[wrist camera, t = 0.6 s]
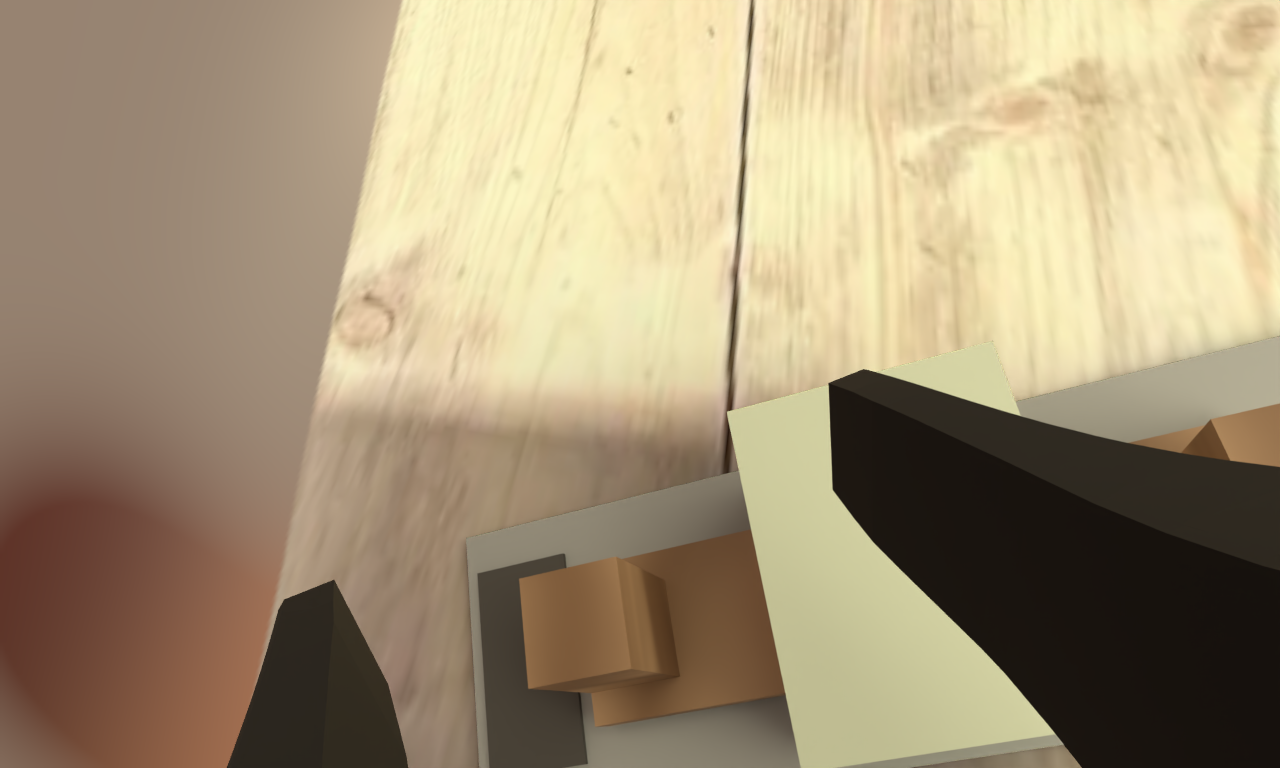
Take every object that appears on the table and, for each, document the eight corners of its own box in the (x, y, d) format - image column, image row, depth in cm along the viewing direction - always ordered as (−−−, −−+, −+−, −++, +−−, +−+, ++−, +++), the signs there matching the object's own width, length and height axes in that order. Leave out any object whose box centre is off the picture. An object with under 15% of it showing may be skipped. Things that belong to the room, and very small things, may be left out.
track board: (1392, 314, 24) (1402, 305, 24) (1607, 662, 20) (1625, 661, 20) (473, 541, 32) (466, 538, 31) (491, 829, 28) (483, 831, 27)
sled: (1254, 424, 24) (1335, 346, 19) (1340, 597, 22) (1458, 560, 17) (590, 574, 29) (516, 544, 24) (608, 726, 27) (531, 728, 22)
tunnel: (981, 430, 27) (992, 340, 21) (1083, 720, 23) (1135, 722, 17) (776, 480, 29) (726, 411, 22) (839, 758, 25) (802, 773, 19)
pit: (565, 554, 30) (562, 553, 30) (587, 764, 27) (585, 764, 27) (480, 574, 31) (477, 573, 30) (492, 779, 28) (490, 780, 28)
